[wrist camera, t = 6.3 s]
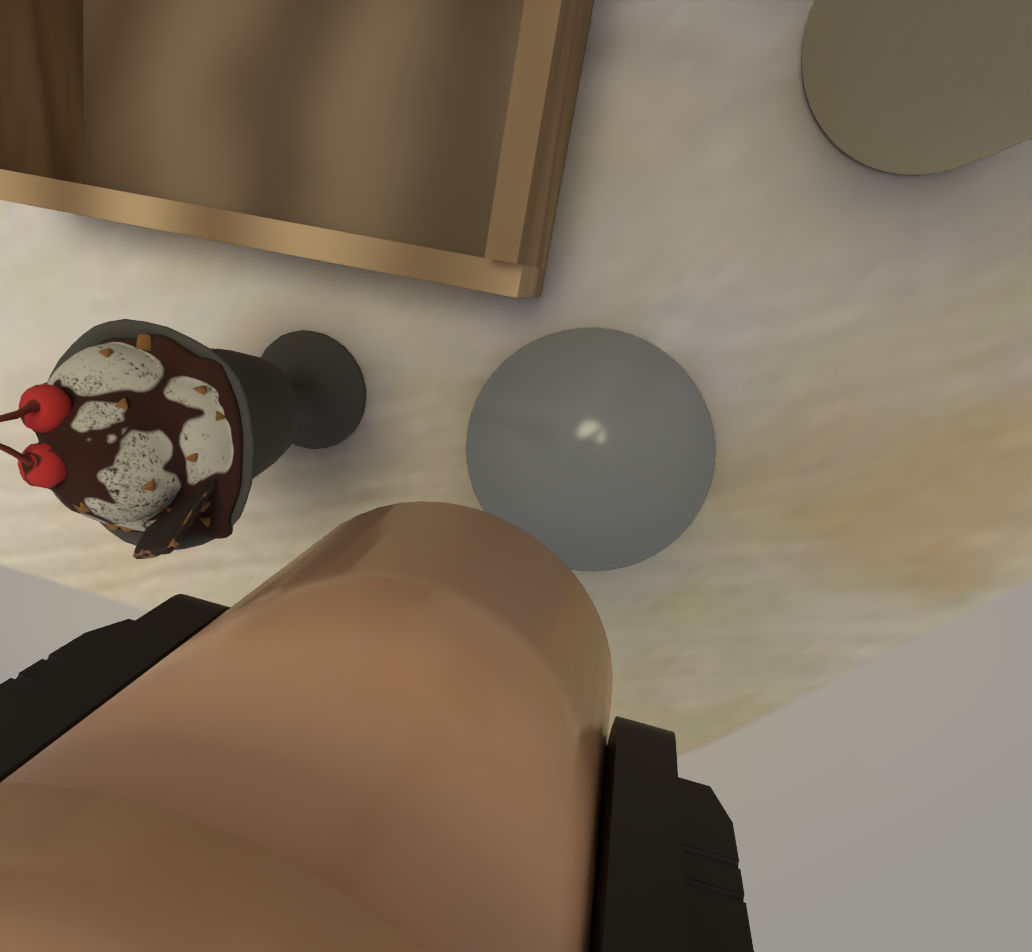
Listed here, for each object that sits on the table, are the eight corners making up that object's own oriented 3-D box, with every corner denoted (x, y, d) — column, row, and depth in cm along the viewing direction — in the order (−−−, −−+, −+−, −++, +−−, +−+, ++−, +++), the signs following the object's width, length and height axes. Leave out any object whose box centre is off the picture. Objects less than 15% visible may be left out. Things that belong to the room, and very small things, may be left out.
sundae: (239, 296, 29) (-161, 303, 15) (393, 325, 28) (129, 361, 14) (232, 450, 31) (-129, 589, 16) (376, 480, 30) (128, 656, 16)
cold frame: (619, -143, 23) (605, -361, 15) (540, 296, 27) (497, 299, 19) (70, -202, 25) (-179, -414, 18) (72, 208, 29) (-130, 179, 22)
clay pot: (688, 532, 9) (912, 1795, 2) (588, 881, 11) (448, 2325, 3) (274, 431, 10) (-1048, 925, 2) (239, 773, 12) (-576, 1737, 4)
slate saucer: (742, 354, 26) (744, 356, 25) (679, 587, 29) (680, 595, 28) (491, 306, 27) (487, 306, 26) (454, 534, 30) (449, 540, 29)
